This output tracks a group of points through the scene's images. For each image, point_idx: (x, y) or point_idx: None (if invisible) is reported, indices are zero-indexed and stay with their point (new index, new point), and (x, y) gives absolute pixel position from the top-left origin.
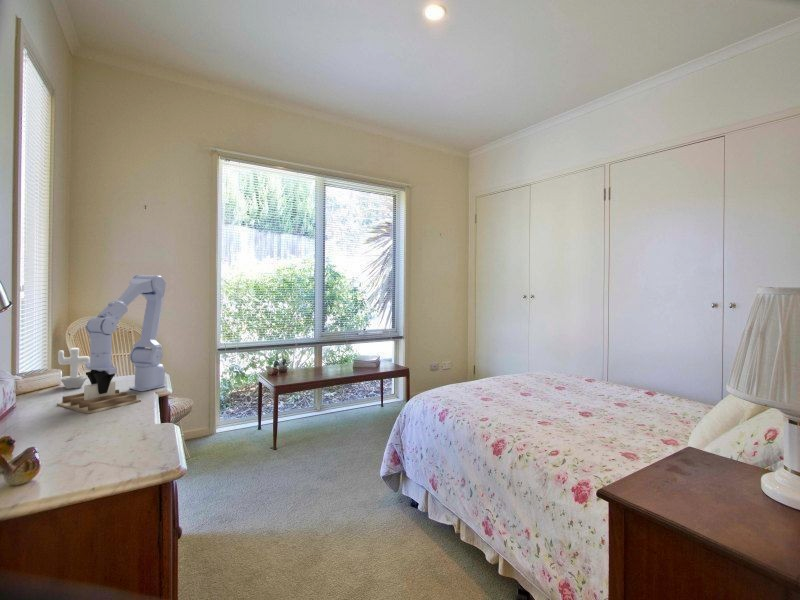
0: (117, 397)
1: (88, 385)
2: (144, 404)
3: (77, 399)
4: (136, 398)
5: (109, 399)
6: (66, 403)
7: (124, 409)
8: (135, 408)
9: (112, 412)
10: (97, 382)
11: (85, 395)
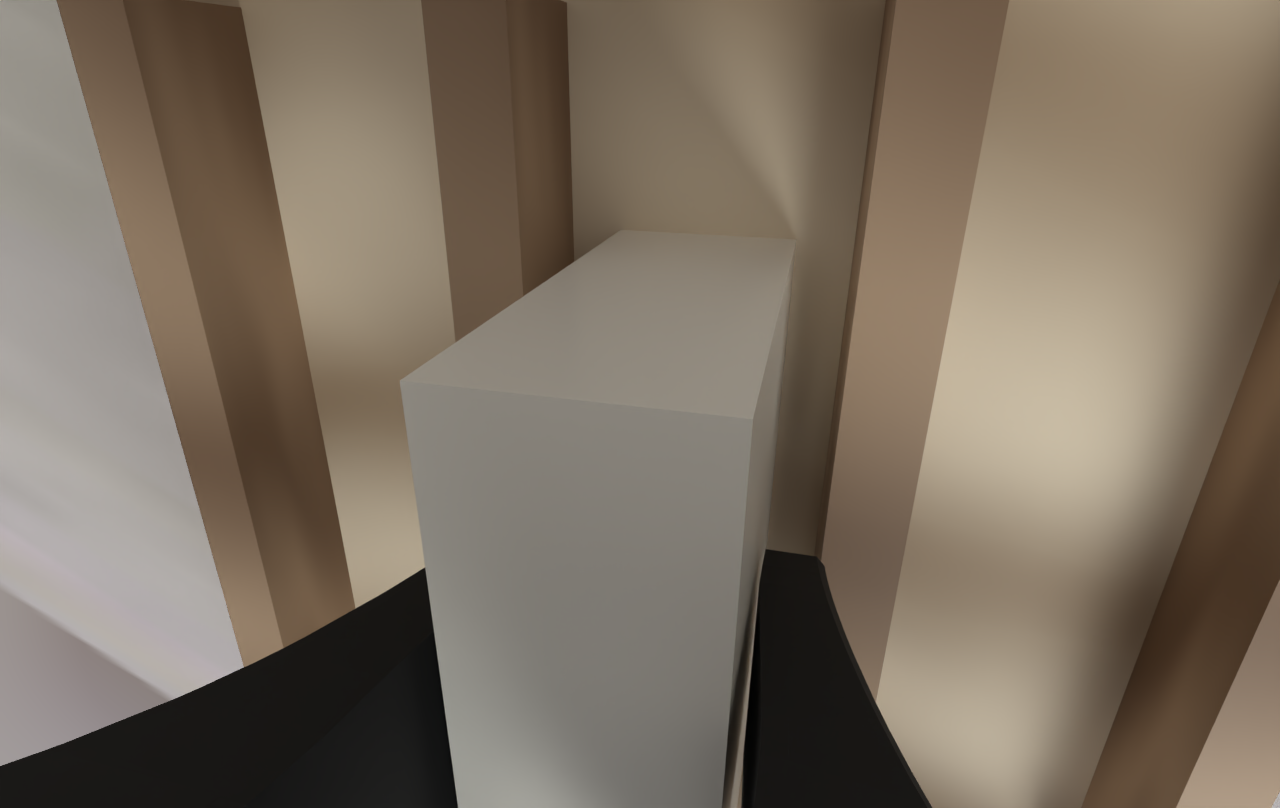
0: (261, 568)
1: (625, 506)
2: (165, 634)
3: (881, 134)
4: None
5: (214, 431)
6: (1264, 13)
7: (86, 401)
8: (55, 486)
9: (29, 233)
10: (301, 712)
11: (707, 287)
